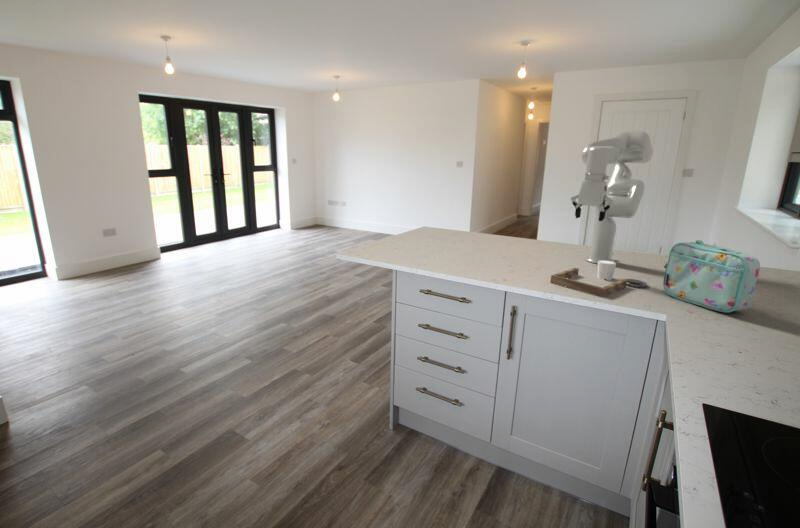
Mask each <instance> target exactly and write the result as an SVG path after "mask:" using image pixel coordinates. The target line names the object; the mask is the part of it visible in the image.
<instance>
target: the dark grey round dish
mask: <svg viewBox="0 0 800 528" xmlns="http://www.w3.org/2000/svg"><path fill="white" fill-rule="evenodd" d="M625 279H626V280H627V284H626V287H627V288H628V287H629V288H634V289H635V288H636V289H646V288H647V287H648V283H647V282H645V281H644V280H640V279H635V278H625Z"/></svg>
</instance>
